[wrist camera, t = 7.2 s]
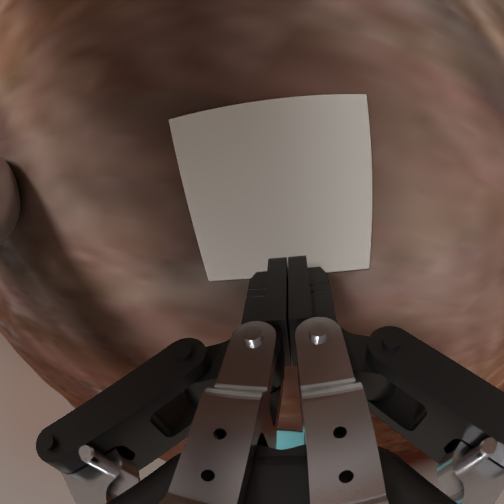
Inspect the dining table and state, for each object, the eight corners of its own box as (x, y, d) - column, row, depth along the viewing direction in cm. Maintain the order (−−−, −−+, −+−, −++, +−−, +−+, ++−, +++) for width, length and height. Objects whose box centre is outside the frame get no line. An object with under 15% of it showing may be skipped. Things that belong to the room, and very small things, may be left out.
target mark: (203, 426, 24) (203, 427, 24) (340, 425, 22) (340, 427, 22) (231, 460, 31) (231, 461, 31) (329, 460, 28) (329, 461, 28)
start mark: (170, 119, 10) (168, 119, 10) (364, 94, 9) (366, 94, 9) (209, 278, 14) (208, 281, 14) (368, 266, 13) (369, 268, 12)
